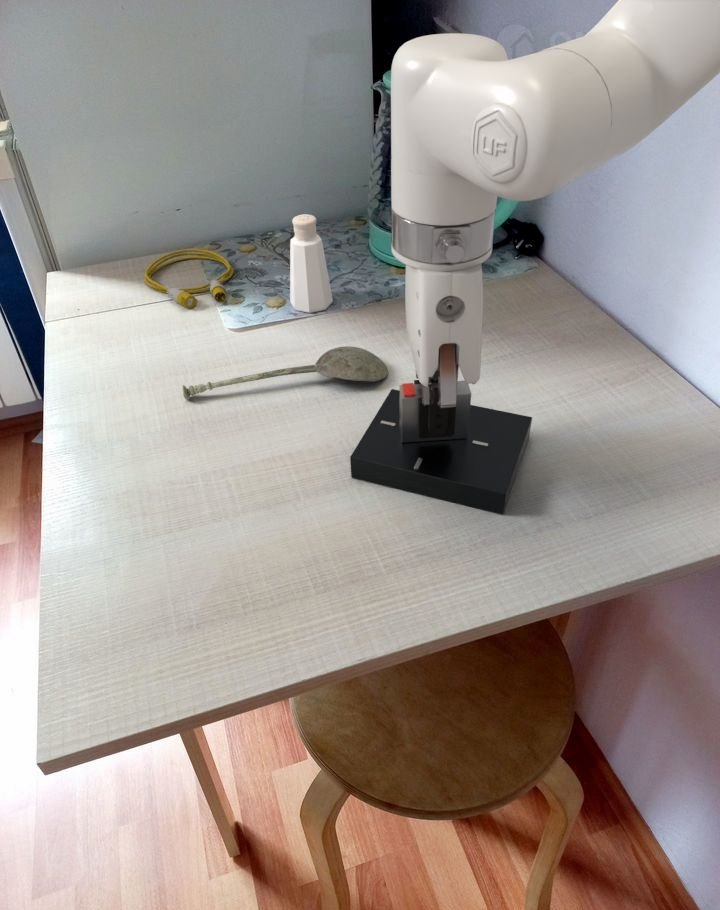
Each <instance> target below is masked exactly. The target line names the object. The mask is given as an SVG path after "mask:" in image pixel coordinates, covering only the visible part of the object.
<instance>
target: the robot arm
mask: <svg viewBox="0 0 720 910" xmlns="http://www.w3.org/2000/svg"><path fill="white" fill-rule="evenodd" d="M390 69H391V70H390V148H391V149H390V156H391V157H390V169H391V170H390V171H391V172H390V190H391V191H390V192H391V193H390V194H391V196H390V197H391V198H390V199H391V201H390V202H391V207H390V212H391V213H390V218H391V219H390V226H391V227H390V231H391V232H390V236H391V237H390V239H391V240H390V241H391V247H390V248H391V250H390V251H391V254H392V255H393V257H394V259H396V260H398V261H399V262H400V263H402V264H404V265H405V275H404V276H405V281H404V283H405V284H404V285H405V286H404V288H405V289H404V290H405V291H404V295H405V296H404V301H405V302H404V303H405V306H404V307H405V321H406V322H405V323H406V334H407V339H408V343H409V348H410V351H411V356H412V360H413V364H414V368H415V377H416V379H414V380H413V384H422V399H419V404H418V436H419V438H421V439H424V438H438V437H450V436H453V435H454V431H455V417H456V403H457V399H456V398H457V383H458V381H459V380H458V379H459V370H460V372H461V375H462V377H463V379H464V380H463V381H465V382H466V384H468V385H470V384H471V385H476V384H477V383H478V382H479V380H480V378H481V368H482V367H481V365H482V347H483V345H482V344H483V343H482V342H483V319H484V318H483V316H484V285H483V284H484V283H483V267H482V264H483V263H485V262H486V261H487V260H488V259H489V258H490V257H491V255H492V253H493V247H494V246H493V244H494V236H495V235H494V233H495V225H496V214H497V203H498V202H497V201H498V198H502V199H504V200H508V201H511V202H512V201H513V202H530V201H534V200H535V201H536V200H539V199H542V198H544V197H547V196H548V195H551V194H553V193H555V192H556V191H558V190H561V189H562V188H564V187H566V186H568V185H570V184H571V183H573V182H575V181H577V180H578V179H580V178H582V177H584V175H586V174H588V173H590V172H592V171H594V170H595V169H597V168H599V167H601V166H602V165H604V164H606V163H608V162H610V161H612V160H615V159H616V158H619V157H620V156H621V155H624V154H625V153H627V152H628V151H629V150H631V149H633V148H634V147H635V146H637V145H638V144H639V143H640V142H642V141H643V140H644V139H645V138H647V137H648V136H649V135H650V134H651V133H653V132H654V131H655V130H657V128H659V127H660V126H661V125H662V124H663V123H664V122H665V121H667V120H668V119H669V118H670V117H672V115H673V114H675V113H676V112H677V111H678V110H679V109H680V108H681V107H683V106H684V105H685V104H686V103H687V102H688V101H690V100H691V99H692V98H693V97H694V96H695V95H697V93H699V92H700V91H701V90H702V89H704V87H705V86H707V85H708V84H709V83H710V82H711V81H713V80H714V78H716V77H717V76H718V75H719V74H720V0H617V1H616V2H615V4H614V5H613V6H611V8H610V9H609V10H608V11H607V12H606V14H605V15H603V17H601V19H600V20H599V22H597V23H596V24H595V25H594V26H593V28H591V29H590V30H589V31H588V32H587V33H586V34H585V35H584V36H581V37H578V38H575V39H571V40H568V41H565V42H563V43H559V44H556V45H553V46H551V47H547V48H544V49H542V50H539V51H538V52H534V53H531V54H530V53H529V54H527V55H523V56H518V57H515V58H511V59H509V58H508V54H507V52H506V50H505V48H504V46H503V45H502V44H501V43H499V42H498V41H497V40H495V39H493V38H490V37H488V36H484V35H480V34H474V33H458V32H457V33H456V32H455V33H454V32H453V33H452V32H451V33H450V32H449V33H436V34H428V35H422V36H419V37H415V38H412V39H410V40H408V41H406V42H404V43H403V44H402V45H401V46H399V48H398V49H397V51H396V52H395V53H394V56H393V59H392V63H391V67H390ZM431 383H438V387H437V388H432V389H431Z"/></svg>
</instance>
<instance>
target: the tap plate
mask: <svg viewBox="0 0 720 910" xmlns="http://www.w3.org/2000/svg"><path fill="white" fill-rule="evenodd" d="M399 411H400V389H394V388H391V390H390V391H389V393H388V394H387V396H386V398H385V399H384V401H383V403H382V404H381V406H380V407H379V409H378V411H377V412H376V414H375V415H374V417H373V419H372V421H371V422H370V424H369V425H368V427H367V429H366V430H365V432H364V434H363V435H362V436H361V439H360V441H359V442H358V444H357V445H356V447H355V448H354V450H353V451H352V453H351V455H350V457H349V459H350V478H351V479H355V480H360V481H365V482H368V483H371V484H375V485H380V486H384V487H388V488H392V489H396V490H401V491H405V492H408V493H413V494H416V495H420V496H425V497H428V498H432V499H437V500H441V501H444V502H449V503H453V504H457V505H462V506H465V507H470V508H474V509H478V510H482V511H486V512H490V513H494V514H499V515H504V513H505V511H506V507H507V505H508V502H509V499H510V495H511V492H512V490H513V486H514V483H515V481H516V478H517V475H518V473H519V469H520V466H521V464H522V461H523V457H524V455H525V451H526V448H527V445H528V442H529V440H530V436H531V435H530V434H531V428H532V423H533V417H532V416H529V415H523V414H518V413H515V412H509V411H504V410H498V409H493V408H489V407H483V406H479V405H474V404H470V416H469V427H468V438H463V439H449V440H435V441H421V442H407V443H402V441H401V435H400V430H399Z"/></svg>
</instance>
